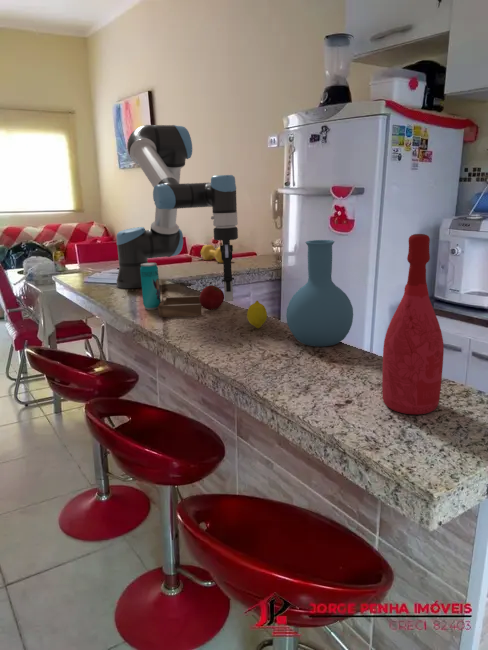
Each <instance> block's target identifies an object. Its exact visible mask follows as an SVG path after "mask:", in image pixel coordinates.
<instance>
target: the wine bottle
mask: <svg viewBox="0 0 488 650" xmlns="http://www.w3.org/2000/svg"><path fill="white" fill-rule="evenodd" d="M430 243H431V240H430V237H429V235H427V234H425V233H413V234H411V235H410V236H409V238H408V253H407V257H406V259H407V262H408V264H409V267H408V275H407V281H406V282H407V283H406V284H405V286H404V290H403V291H404V293H403V296H402V298H401V300H400V303H399V304H398V306H397V308H396V309H395V312H394V313H393V316H392V318H391V320H390V322H389V325H388V327H387V330H386V333H385V336H384V341H383V349H382V351H383V353H382V372H381V373H382V382H381V383H382V386H381V387H382V392H381V395H382V401H383V404H384V405H385V406H387V407H388V408H389V409H390V410H392V411H395V412H397V413H400V414H406V415H425V414H429V413H431V412H433V411H435V410H436V409H437V408H438V406H439V402H440V397H441V390H442V389H441V388H442V379H443V378H442V377H443V367H444V350H445V349H444V345H445V344H444V336H443V333H442V329H441V326H440V323H439V320H438V317H437V315H436V312H435V309H434V307H433V304H432V302H431V299H430V296H429V295H430V294H429V290H428V289H429V288H428V283H427V264H428V262H430V260H431V255H430Z"/></svg>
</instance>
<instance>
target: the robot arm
mask: <svg viewBox="0 0 488 650" xmlns="http://www.w3.org/2000/svg"><path fill="white" fill-rule="evenodd" d="M192 141H193V140H192V137H191V134H190V132H189V130H188V129H187V128H186V126H184V125H176V124H172V125H170V124H169V125H167V124H165V125H162V124H159V125H158V124H157V125H156V124H155V125H154V124H145V125H144V124H143V125H141V126H138V127H137V128H136V129H134V130H133V131H132V132H131V133H130V135H129V137H128V139H127V142H126V143H127V144H126V145H127V153H128V155H129V157H130V158H131V160H132V162H134V163H135V164H136V165H138V166H139V167H140V168H141V170H142V172H143V174H144V175H145V176H146V178H147V180H148V181H149V183H150V184H151V186H152V188H153V191H152V197H153V198H152V199H153V202H154V206H155V212H154V221H153V222H151V224H150V229H148V230H147V229H146V228H145V227H144V226H141V227H140V226H139V227H133V228H125V229H123V230H120V231H118V232H117V233H116V244H115V245H116V246H117V248H116V249H117V255H118V257H117V259H118V266H119V269H118V274H117V278H116V287H117V288H119V289H140V288H141V289H142V284H141V273H140V268H141V264H143V263H149V261H148V260H149V259H155V258H157V259H158V258H170V257H174V256H178V255H179V254H180V253H181V251H182V250H183V247H184V246H183V245H184V235H183V231H182V230H181V229H180V226H179V225H178V224H177V217H178V216H177V215H178V209H191V208H212V216H211V217H210V219H211V220H213V226H214V228H213V239H214V240H215V241H222V245H221V244H220V245H219V247H220V251H221V257H222V260H223V263H222V264H223V279H221V282H223V290H224V291H223V293H224V302H233V301H234V288H233V286H234V285H233V280H235V277H233V274H232V271H233V270H232V260H233V251H234V247H233V244H231V241H234V240H237V239H238V238H239V231H238V230H239V229H238V227H237V225H238V211H237V206H238V205H237V185H236V177H235V176H234V175H233V174H220V175H219V174H217V175H212V176H211V178H210V182H199V183H198V182H194V183H193V182H192V183H189V182H188V183H180V181H181V169H182V168H184V167H185V165H186V161H187V160H189V159H191V158H192V154H193V143H192Z"/></svg>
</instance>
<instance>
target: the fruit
mask: <svg viewBox="0 0 488 650" xmlns="http://www.w3.org/2000/svg"><path fill="white" fill-rule="evenodd" d="M246 318H247V321H248V322H249V324H250V325H251V326H254V327H255V328H256V329H261V327H262V326H263V325H264V324H265V322H266V321H267V318H268V313H267V309H266V306H265V305H264V304H263V303H260V302H259V300H255V302H254V303H252V304H250V305H249V306H248V309H247V311H246Z"/></svg>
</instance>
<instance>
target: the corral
mask: <svg viewBox="0 0 488 650" xmlns="http://www.w3.org/2000/svg"><path fill="white" fill-rule="evenodd" d="M199 297H200V295H190V296H189V295H187V296H184V295H183V296H167V297H165V296H163V297H162V299H161V302H160V304H159V306H158V309H157V310H158V318H169V317H170V318H171V317H195V316H198V317H199V316H202V314H203V311H202V308H204V307H203V306H202V305H201V304H200V300H199Z"/></svg>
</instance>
